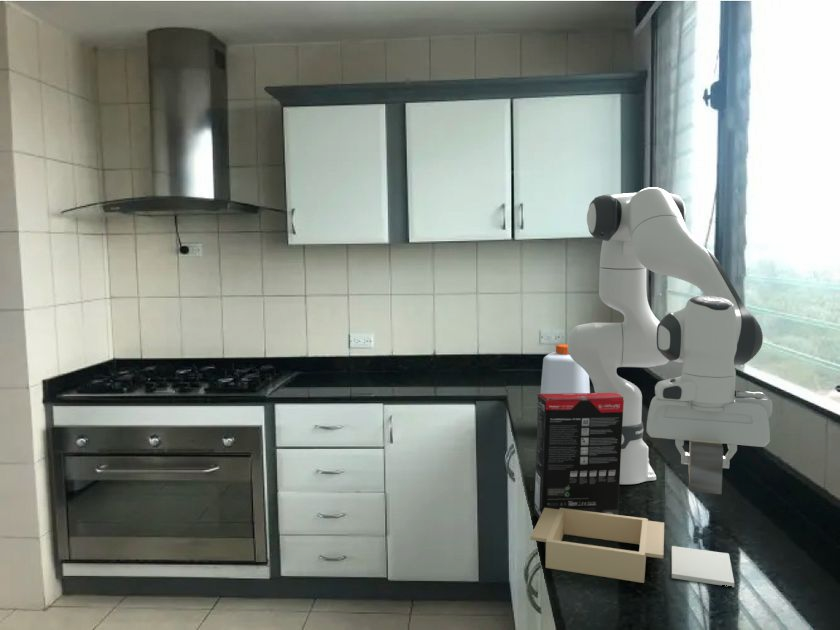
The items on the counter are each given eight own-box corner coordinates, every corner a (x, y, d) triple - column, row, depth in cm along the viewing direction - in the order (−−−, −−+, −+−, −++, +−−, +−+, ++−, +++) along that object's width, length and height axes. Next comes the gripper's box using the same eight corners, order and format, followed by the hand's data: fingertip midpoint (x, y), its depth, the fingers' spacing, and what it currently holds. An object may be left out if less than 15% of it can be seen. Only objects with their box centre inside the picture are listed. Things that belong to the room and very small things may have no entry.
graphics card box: (609, 511, 152) (612, 389, 149) (621, 524, 145) (625, 396, 142) (533, 515, 150) (534, 391, 147) (542, 528, 143) (544, 398, 140)
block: (688, 471, 129) (689, 429, 129) (717, 474, 128) (719, 432, 127) (689, 490, 119) (691, 445, 118) (721, 494, 118) (723, 448, 117)
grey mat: (671, 549, 132) (671, 545, 132) (728, 557, 129) (728, 553, 129) (671, 578, 121) (671, 573, 121) (734, 587, 118) (734, 582, 118)
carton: (544, 529, 142) (545, 505, 142) (663, 545, 134) (664, 520, 134) (529, 565, 126) (529, 538, 126) (662, 585, 118) (663, 557, 118)
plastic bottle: (593, 432, 217) (595, 343, 214) (584, 444, 203) (586, 350, 200) (546, 426, 223) (547, 340, 220) (533, 438, 209) (535, 347, 207)
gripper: (770, 389, 121) (767, 466, 123) (648, 382, 128) (646, 454, 130) (775, 396, 115) (772, 477, 117) (647, 388, 122) (644, 464, 124)
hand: (704, 465), depth 123 cm, fingers closed on block, 5 cm apart
